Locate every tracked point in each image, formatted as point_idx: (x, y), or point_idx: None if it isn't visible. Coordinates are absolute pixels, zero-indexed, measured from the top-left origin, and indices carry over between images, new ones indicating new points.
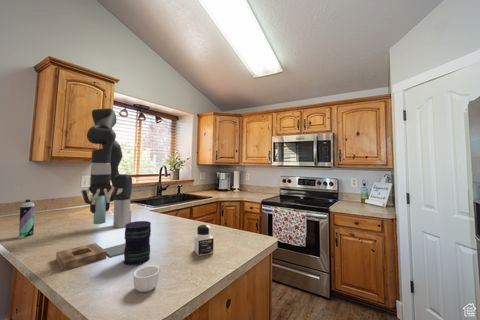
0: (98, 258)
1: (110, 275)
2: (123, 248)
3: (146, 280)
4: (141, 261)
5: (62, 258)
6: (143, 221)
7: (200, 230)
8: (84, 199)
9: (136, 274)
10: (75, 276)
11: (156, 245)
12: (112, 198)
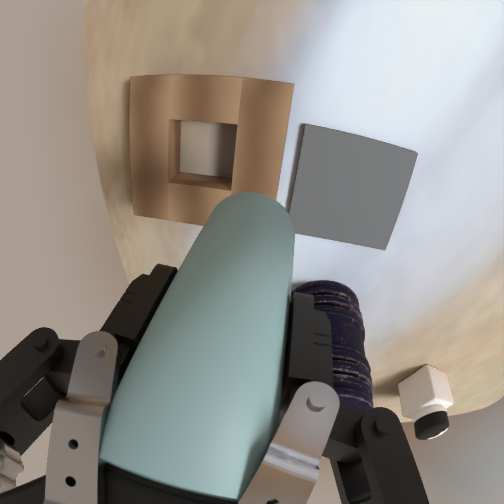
0: None
1: None
2: (363, 203)
3: None
4: None
5: (134, 171)
6: (370, 405)
7: (416, 431)
8: (12, 366)
9: None
10: (164, 262)
11: (441, 269)
12: (339, 466)
